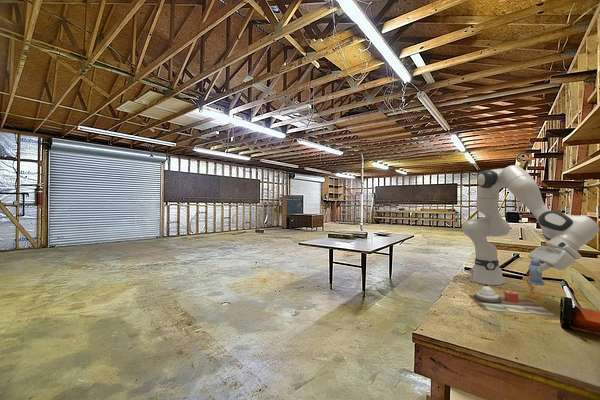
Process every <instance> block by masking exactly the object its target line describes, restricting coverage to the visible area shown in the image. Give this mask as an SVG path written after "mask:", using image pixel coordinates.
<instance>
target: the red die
mask: <svg viewBox="0 0 600 400" xmlns="http://www.w3.org/2000/svg"><path fill="white" fill-rule="evenodd" d="M504 297H505V300H506V301H508V302H515V303H519V298H520V297H519V293H517V292H516V291H509V290H504Z"/></svg>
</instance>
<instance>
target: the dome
mask: <svg viewBox="0 0 600 400" xmlns="http://www.w3.org/2000/svg"><path fill="white" fill-rule="evenodd" d="M475 294H476V296H477V297H479V298H481V299H486V300H498V299H499V297H500V295H499V294H498V293H496V292H495V291H494V289H493V288H492V287H490V286H489V285H488V286H487V285H486V286H485V285H484V286H482V287H481V289H479V290H478V291H475Z"/></svg>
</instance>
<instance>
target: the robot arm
mask: <svg viewBox="0 0 600 400" xmlns="http://www.w3.org/2000/svg"><path fill="white" fill-rule="evenodd" d="M476 183H477V185H478V186H477V187H478V188H477V191H476V203H475V208H476V211H477V212H479V213H481V214H483V215H484V218H472V219H467V220H464V221H463V222H462V224H461V230H462V232H463V235H466V237H468V238H469V239H470V240H471V241H472V243H473V246H474V250H475V258H474V265H473V266H472V267H471V268H470V269H469V273H470V274H467V278H468V277H469V278H468V280H469V282H471V281H472V283H478V284H483V285H486V286H487V285H488V286H500V285H503V284H506V283H507V282H506V281H505V280H504V279H503V271H502V268H500V267H499V265H500V264H499V262H500V261H499V259H498V248H497V246H496V244H494V243H492V242H489V241H488V239H487V238H488V237H489V238H490V237H492V238H493V237H494V238H495V237H505V236H507V235H508V234H509V233H510V231H511V227H510V226H511V225H510V223H509V222H508V221H507V220H505V219H504V218H503V217H502V215H501V213H500V211H499V202H500V201H499V199H500V190H501V189H504V188H505V189H508V191H509V192H510V193H511V194H512V195H513V196H514V197H515V198H516V199H518V201H520V203H521V204H523V206H524V207H525V208H527V209H528V211H530V213H531V214H532V215H533V217H534V218H535V220H536V221H537V222H538V225H539V226H540V230H541V231H542V235H543V237H544V239H546V240H547V241H546V244H545V245H539V246H538V247H536V248H535V249H533V250H532V251H530V252H529V253H528V255H527V256H528V258H530V260H532V259H538V260H539V261H540V265H541V266H540V267H537V268H536V269H535V270H536V271H537V272H539V273H541V272H542V273H543V272H544V271H546V270H549V269H550V268H553V269H556V270H559V271H562V270H565V269H566V268H568V267H569V266H571V265H572V264H574V263H575V261H576V260H579V259H581V258H582V255H581V254H580V253H579V252H578V251H579V250H580V249H581V247H582V246H584V245H586V244H588V243H589V242H590V241H592V240H593V239H594V237H596V236H597V235H598V233H599V232H600V225H599V224H598V222H596V221H595V220H594V219H593V218H591V217H589V216H587V215H584V214H583V215H582V214H581V215H573V214H568V213H564V212H561V211H559V210H550V209H549V208H548V207H547V205H546V204H545V202H544V201H543V197H542V195H541V193H542V192H541V190H540V188H539V186H538V183H537V182H536V181H535V179H534V178H533V177H532V175H531V174H530V173H528V171H526V170H525V169H523V168H522V167H521V166H519V165H516V164H513V165H512V164H511V165H508V166H507V167H504V168H494V169H485V170H481V171H480V172H479V173H478V174H477V176H476ZM527 268H529V265H528V266H527Z"/></svg>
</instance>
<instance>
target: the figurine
mask: <svg viewBox="0 0 600 400" xmlns="http://www.w3.org/2000/svg"><path fill="white" fill-rule="evenodd" d="M523 280H524V282H525V283H526V285H527V286H528V288H529V289H530V292H531V293H530V294H529V298H530V299H531V300H532V299H533V300H541V295H540V294H539V293H538V292H536V291H534V288H535V285H533V284H530V283H528V280H530V275H526V276H523Z"/></svg>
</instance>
